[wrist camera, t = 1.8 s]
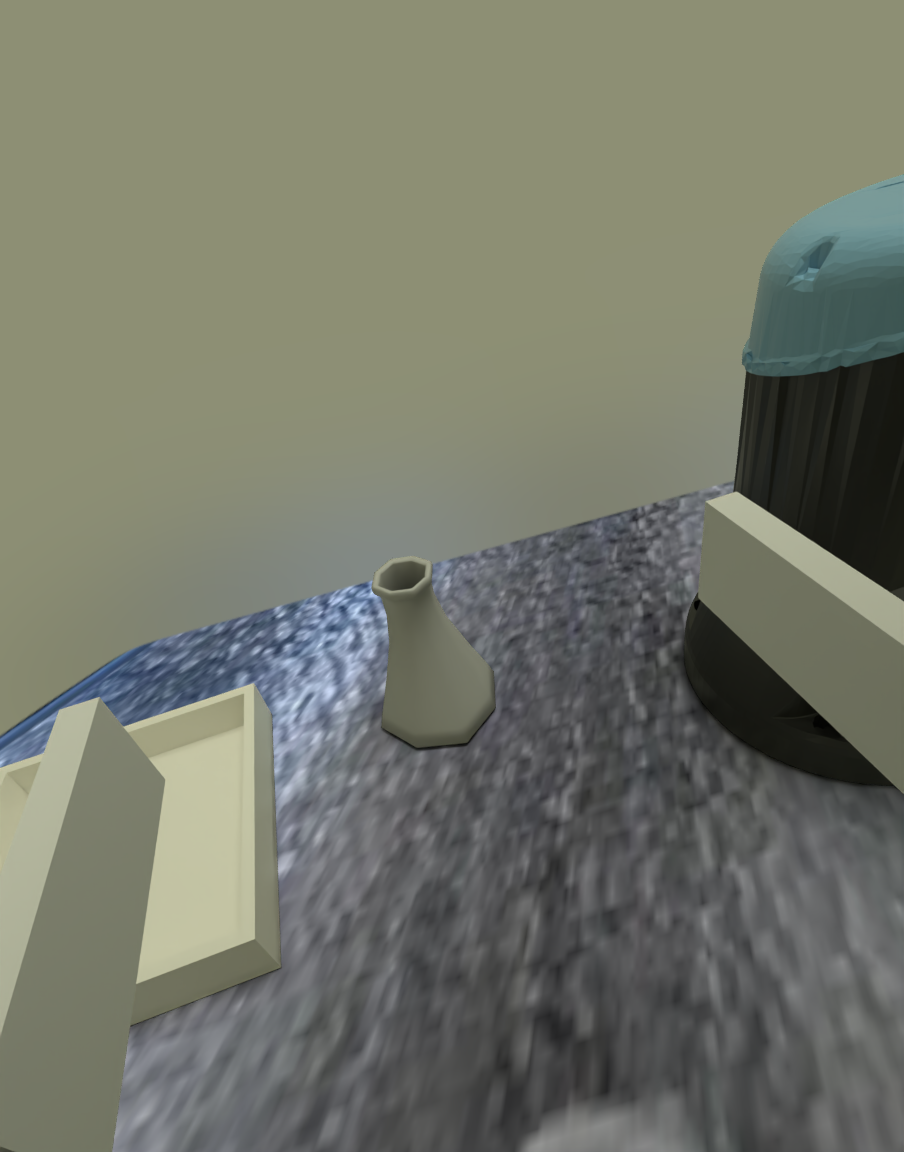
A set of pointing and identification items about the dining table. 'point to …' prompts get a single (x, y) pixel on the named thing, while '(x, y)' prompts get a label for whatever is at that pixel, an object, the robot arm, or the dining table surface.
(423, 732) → the flask
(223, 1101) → the dining table surface
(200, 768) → the box
